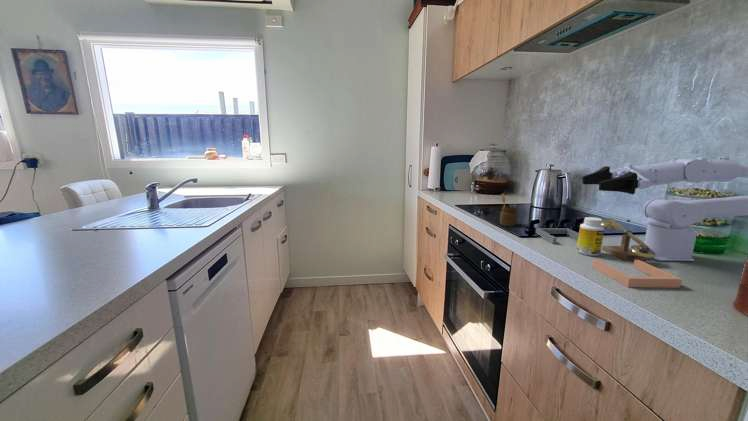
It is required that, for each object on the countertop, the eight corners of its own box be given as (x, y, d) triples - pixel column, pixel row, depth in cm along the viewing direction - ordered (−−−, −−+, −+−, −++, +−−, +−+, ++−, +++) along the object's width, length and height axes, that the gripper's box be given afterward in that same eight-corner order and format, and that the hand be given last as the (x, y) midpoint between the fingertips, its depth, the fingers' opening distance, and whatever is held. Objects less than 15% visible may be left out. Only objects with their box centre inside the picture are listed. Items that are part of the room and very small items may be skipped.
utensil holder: (510, 227, 111) (513, 196, 108) (495, 223, 116) (498, 194, 114) (519, 224, 114) (522, 194, 112) (504, 221, 119) (506, 192, 117)
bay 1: (552, 243, 91) (553, 237, 91) (535, 233, 102) (535, 228, 102) (588, 244, 91) (589, 238, 91) (567, 233, 102) (568, 228, 101)
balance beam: (612, 220, 89) (615, 214, 88) (659, 258, 74) (664, 251, 73) (595, 220, 89) (598, 214, 88) (639, 258, 74) (643, 251, 73)
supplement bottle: (595, 258, 80) (601, 222, 77) (572, 252, 84) (577, 218, 82) (603, 254, 83) (609, 219, 80) (581, 248, 87) (586, 215, 85)
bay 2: (637, 267, 73) (638, 259, 73) (680, 287, 63) (682, 279, 62) (592, 266, 74) (593, 259, 73) (627, 287, 63) (629, 278, 63)
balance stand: (622, 249, 86) (626, 231, 85) (646, 259, 78) (650, 240, 77) (601, 249, 86) (604, 231, 85) (623, 259, 78) (627, 239, 77)
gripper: (628, 157, 83) (576, 164, 85) (672, 164, 69) (608, 173, 71) (627, 181, 85) (576, 187, 87) (669, 193, 71) (607, 201, 73)
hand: (590, 183), depth 79 cm, fingers open, 7 cm apart
